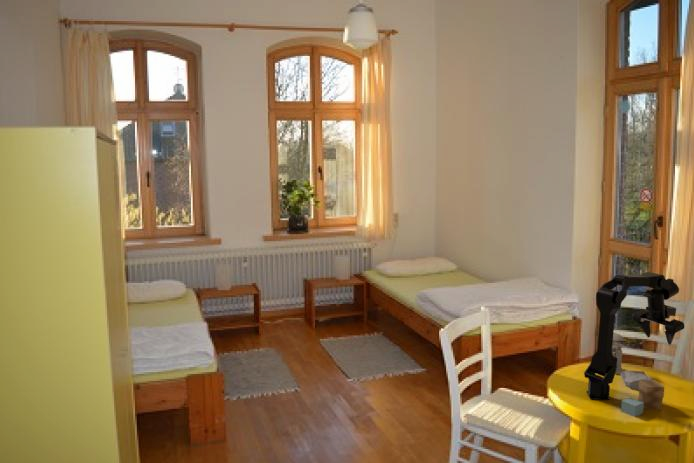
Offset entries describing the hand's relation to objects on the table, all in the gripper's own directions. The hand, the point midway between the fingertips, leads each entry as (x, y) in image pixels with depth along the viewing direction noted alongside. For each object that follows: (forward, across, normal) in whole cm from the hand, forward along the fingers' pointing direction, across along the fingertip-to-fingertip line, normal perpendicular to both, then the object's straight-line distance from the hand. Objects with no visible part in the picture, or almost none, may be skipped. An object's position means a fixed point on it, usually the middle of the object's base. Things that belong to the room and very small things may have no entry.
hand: (659, 340), depth 242 cm
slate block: (+7, -17, +36) cm, 40 cm away
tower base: (+9, -15, +26) cm, 32 cm away
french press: (+13, +14, +12) cm, 23 cm away
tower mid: (+6, -15, +25) cm, 30 cm away
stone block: (+13, 0, +15) cm, 20 cm away
